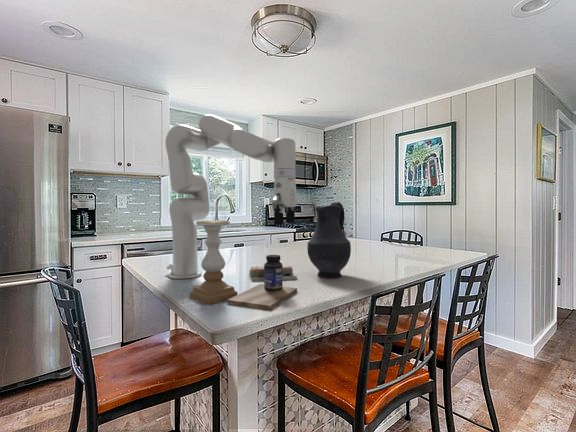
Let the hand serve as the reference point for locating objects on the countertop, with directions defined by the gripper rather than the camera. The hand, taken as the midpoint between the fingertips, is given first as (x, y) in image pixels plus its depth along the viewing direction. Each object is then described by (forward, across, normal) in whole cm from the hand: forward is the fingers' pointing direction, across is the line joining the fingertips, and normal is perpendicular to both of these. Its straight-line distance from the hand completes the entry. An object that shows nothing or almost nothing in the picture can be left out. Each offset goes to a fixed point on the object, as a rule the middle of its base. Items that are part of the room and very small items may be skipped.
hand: (284, 223), depth 113 cm
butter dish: (+23, +11, +10) cm, 27 cm away
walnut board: (+22, -14, 0) cm, 27 cm away
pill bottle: (+21, -8, 0) cm, 23 cm away
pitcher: (+22, +25, -10) cm, 35 cm away
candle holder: (+22, -21, +15) cm, 34 cm away
